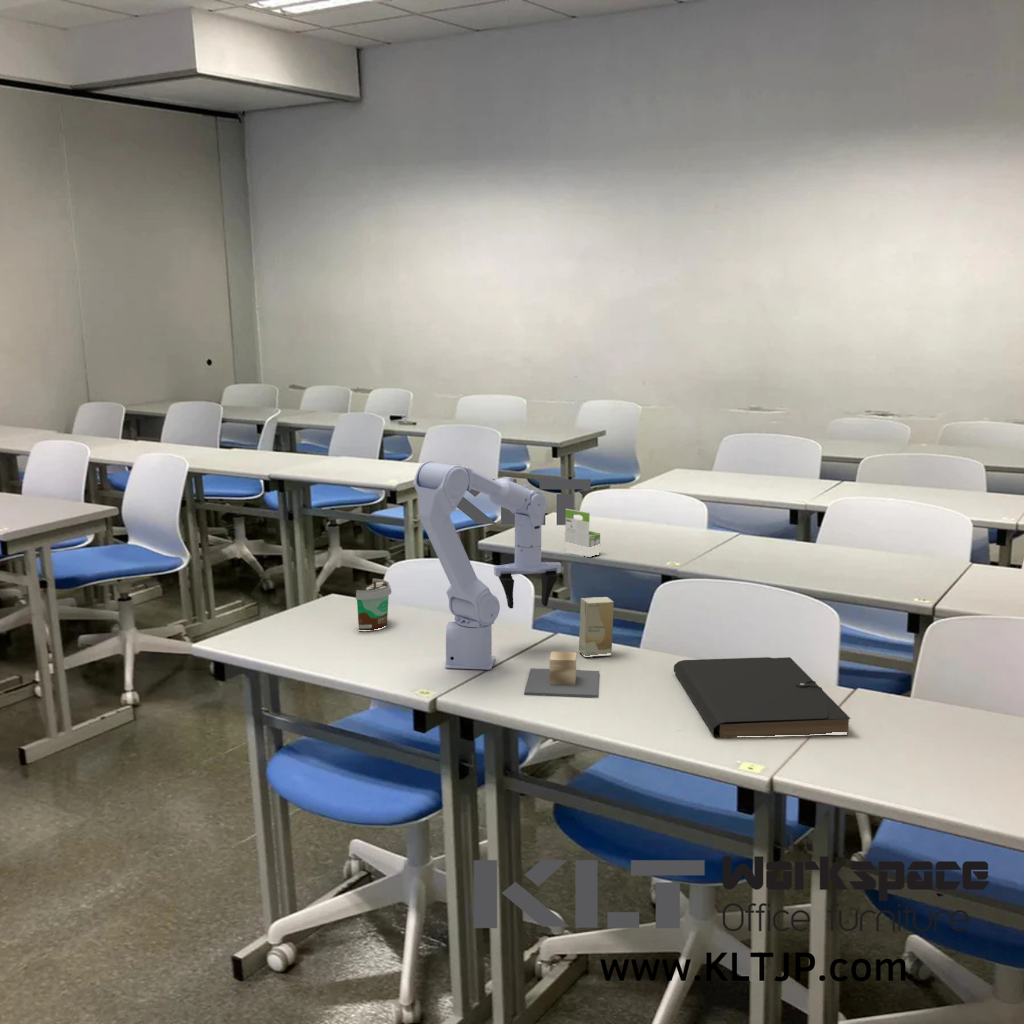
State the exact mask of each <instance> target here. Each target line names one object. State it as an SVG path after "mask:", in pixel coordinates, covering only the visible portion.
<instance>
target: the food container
mask: <svg viewBox="0 0 1024 1024" xmlns="http://www.w3.org/2000/svg"><path fill="white" fill-rule="evenodd" d="M391 594H392V588H391V585H390V582H389V581H387V580H385V579H380V578H372V582H371V583H370V584H368V585H365V586H364V588H362V589H361V590H357V589H356V591H355V600H356V605H357V622H358V624H357V625H358V631H359V630H374V629H378V628H382V627H384V626H386V625H387V626H388V616H389V613H388V612H389V599H390V598H389V597H390V595H391ZM387 626H386V627H387Z"/></svg>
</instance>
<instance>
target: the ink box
mask: <svg viewBox="0 0 1024 1024" xmlns="http://www.w3.org/2000/svg"><path fill="white" fill-rule="evenodd" d="M573 515H579V516H581V517H582V519H577V518H573ZM564 541H565V542H569V543H573V544H577V545H581V546H586V547H592V546H595V545H598V544H600V545H601V533H600V532H597V531H590V512H586V511H583V510H582V511H581V510H577V509H576V510H575V509H571V508H565V532H564ZM565 542H564V543H565Z"/></svg>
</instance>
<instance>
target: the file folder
mask: <svg viewBox="0 0 1024 1024" xmlns="http://www.w3.org/2000/svg"><path fill="white" fill-rule="evenodd" d="M673 673H675V675H676V677H677V679H678V681H679V682H680V683H681V685H682V686H683V688H684V690H685V692H686V693H687V695H688V696H689V697H690V700H691V701H692V703H693V704H694V706H695V707H696V709H697V712H699V714H700V716H701V717H702V719H703V721H704V723H705V724H706V725H707V727H708V729H709V731H710V732H711V734H712V735H713V737H714V738H715V739H717V736H716V735H715V733H714V732H715V728H716V730H717V731H718V733H719V739H727V738H726V737H737V736H775V735H810V734H826V733H832V732H848V733H849V723H850V720H851V717H850V716H849V715H848V714H847V713H846V711H844V710H843V709H842V708H841V707H840V706H839V705H838V704H837V703H836V702H835V701H834V700H833V699H832V698H831V696H829V695H828V694H827V693H826V692H825V691H824V690H823V688H822V687H821V686H819V685H818V684H817V681H815V680H813V679H812V678H811V677H810V676H809V675H808V674H807V673H806V672H805V671H804V669H802V667H800V665H798V663H796V662H795V661H794V660H793V659H792V658H791V657H790V656H788V657H786V656H785V657H770V656H769V657H768V656H764V657H740V658H739V657H738V658H737V657H736V658H735V657H734V658H708V659H706V658H705V659H684V660H679V661H678V662H676V663H674V665H673Z"/></svg>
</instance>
